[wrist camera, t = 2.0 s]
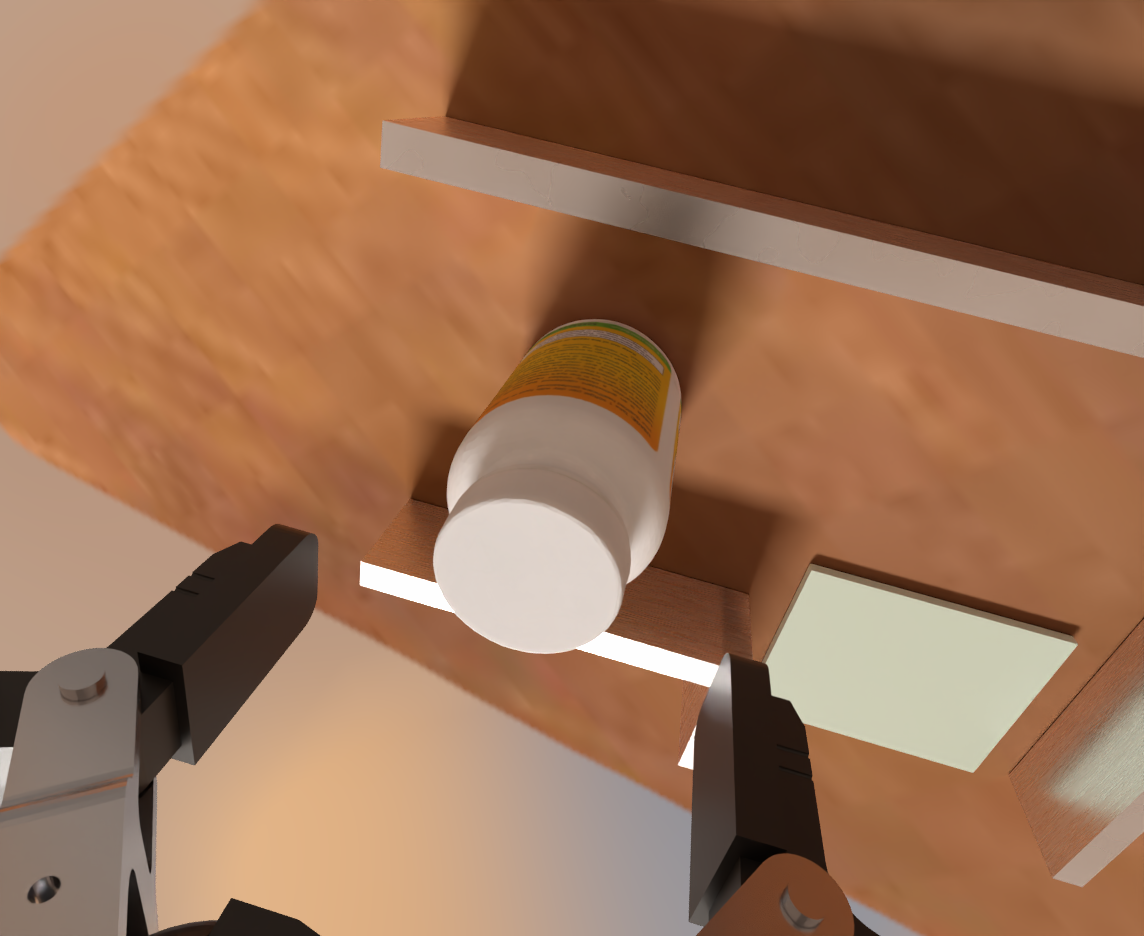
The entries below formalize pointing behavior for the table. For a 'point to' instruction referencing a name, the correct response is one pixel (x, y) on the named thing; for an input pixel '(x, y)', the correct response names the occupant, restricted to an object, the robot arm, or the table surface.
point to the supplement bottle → (561, 489)
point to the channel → (853, 256)
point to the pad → (907, 667)
